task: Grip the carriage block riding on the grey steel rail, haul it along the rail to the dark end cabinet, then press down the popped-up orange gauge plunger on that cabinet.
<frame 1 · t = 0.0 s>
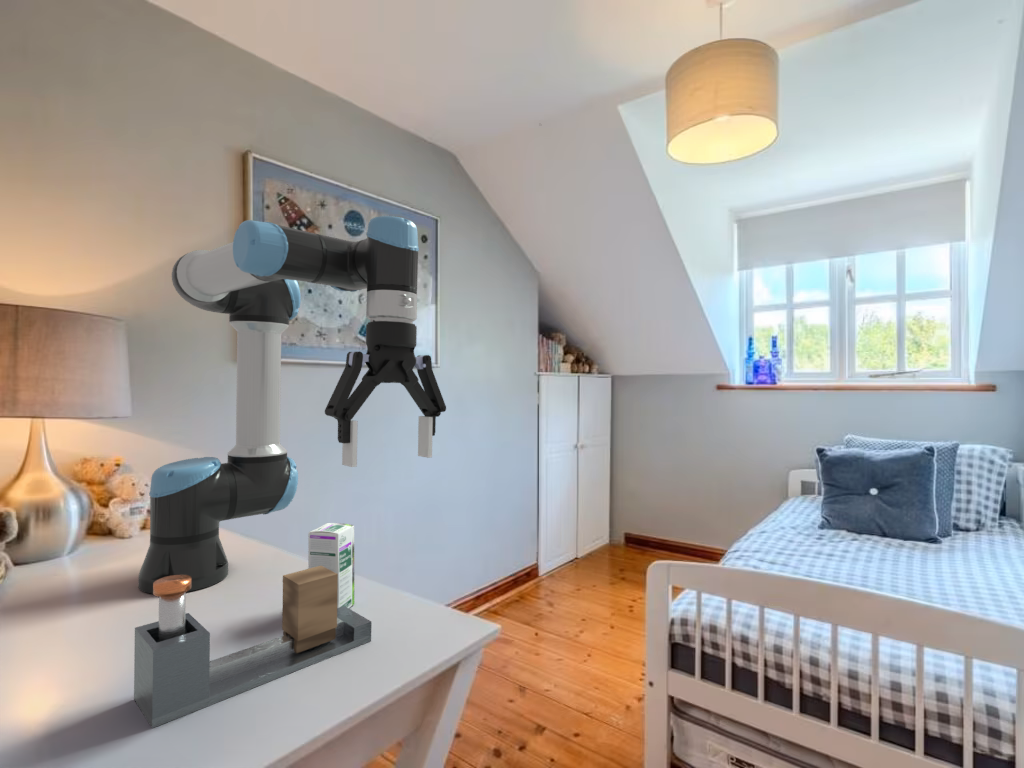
hand: (389, 461, 83), 28 cm above the table, fingers open, 13 cm apart
syrup box: (331, 611, 94), on the table
rail: (275, 662, 77), on the table
plunger: (172, 621, 67), point 10 cm above the table, slide at 0.0 cm
carriage: (310, 607, 80), point 6 cm above the table, slide at 0.0 cm
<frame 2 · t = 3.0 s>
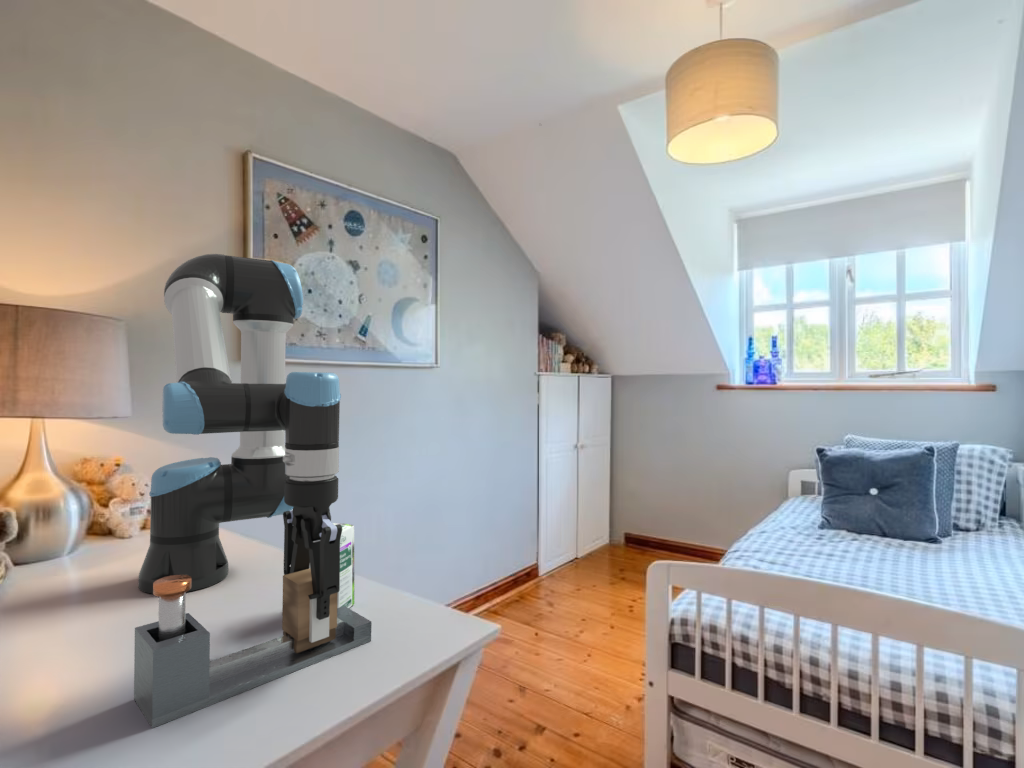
hand: (309, 631, 80), 3 cm above the table, fingers closed on carriage, 5 cm apart
carriage: (310, 607, 80), point 6 cm above the table, slide at 0.0 cm, touching gripper
everything else where it was.
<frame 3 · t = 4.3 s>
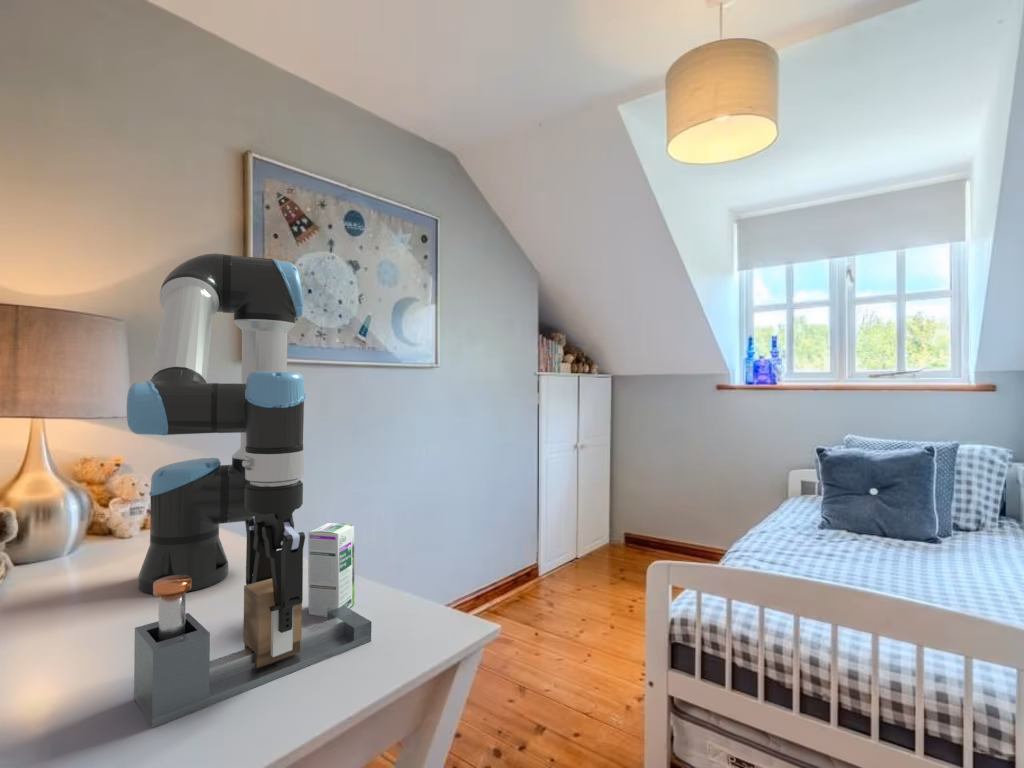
hand: (272, 644, 76), 3 cm above the table, fingers closed on carriage, 5 cm apart
carriage: (272, 619, 76), point 6 cm above the table, slide at 5.5 cm, touching gripper
everything else where it was.
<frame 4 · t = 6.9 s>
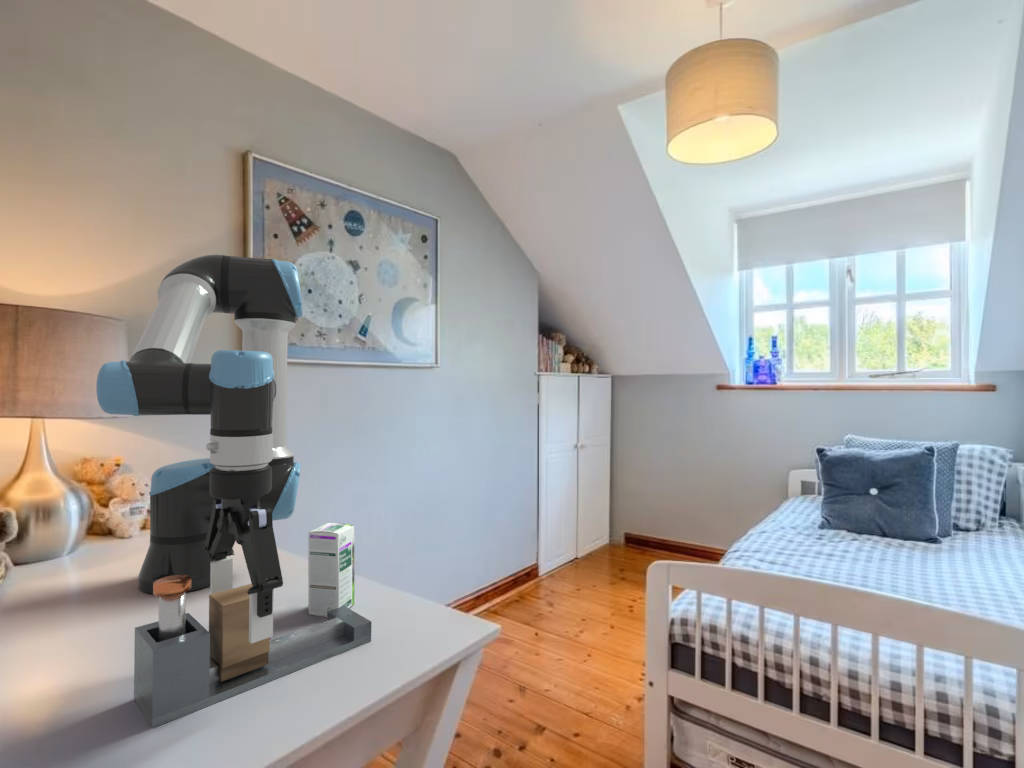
hand: (239, 621, 73), 7 cm above the table, fingers open, 13 cm apart
carriage: (239, 630, 73), point 6 cm above the table, slide at 10.0 cm
everything else where it was.
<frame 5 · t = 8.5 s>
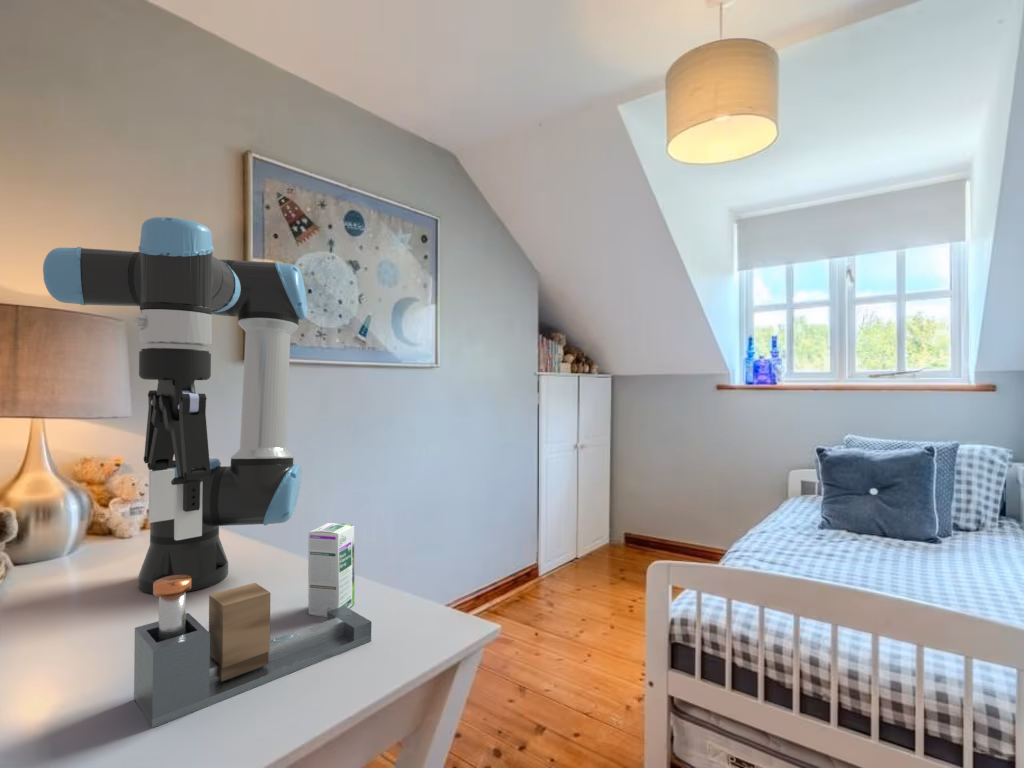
hand: (174, 528, 67), 22 cm above the table, fingers open, 10 cm apart
nothing on the table moved.
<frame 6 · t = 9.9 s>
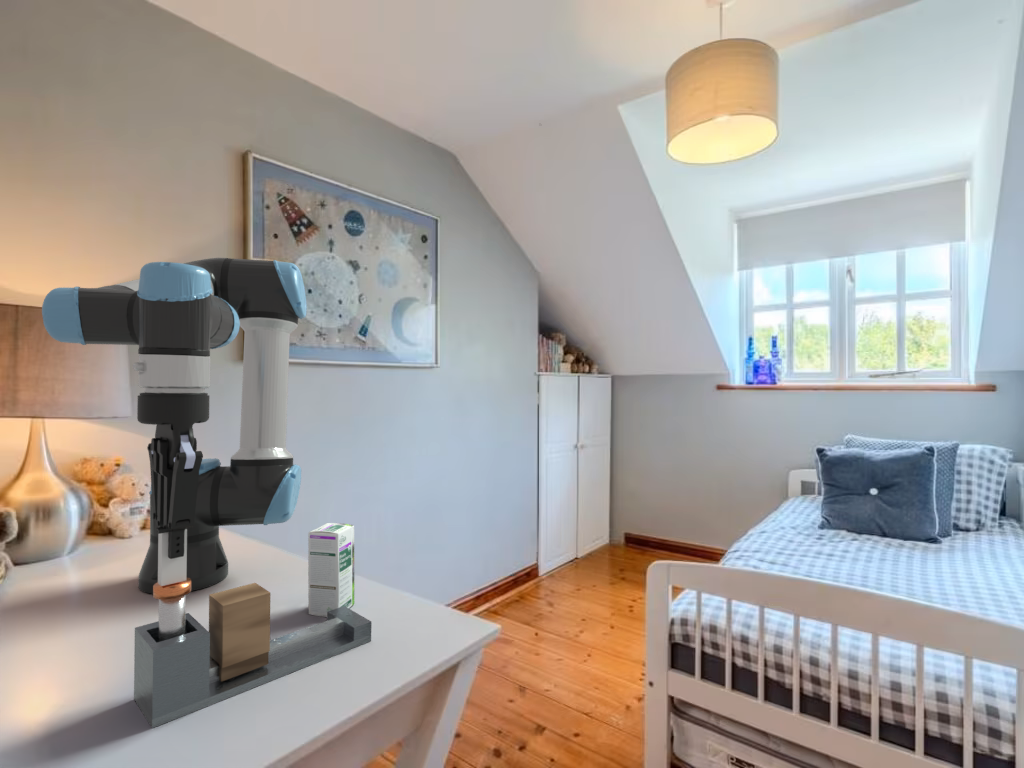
hand: (172, 581, 67), 15 cm above the table, fingers closed
plunger: (172, 624, 67), point 10 cm above the table, slide at 0.3 cm, touching gripper
everything else where it was.
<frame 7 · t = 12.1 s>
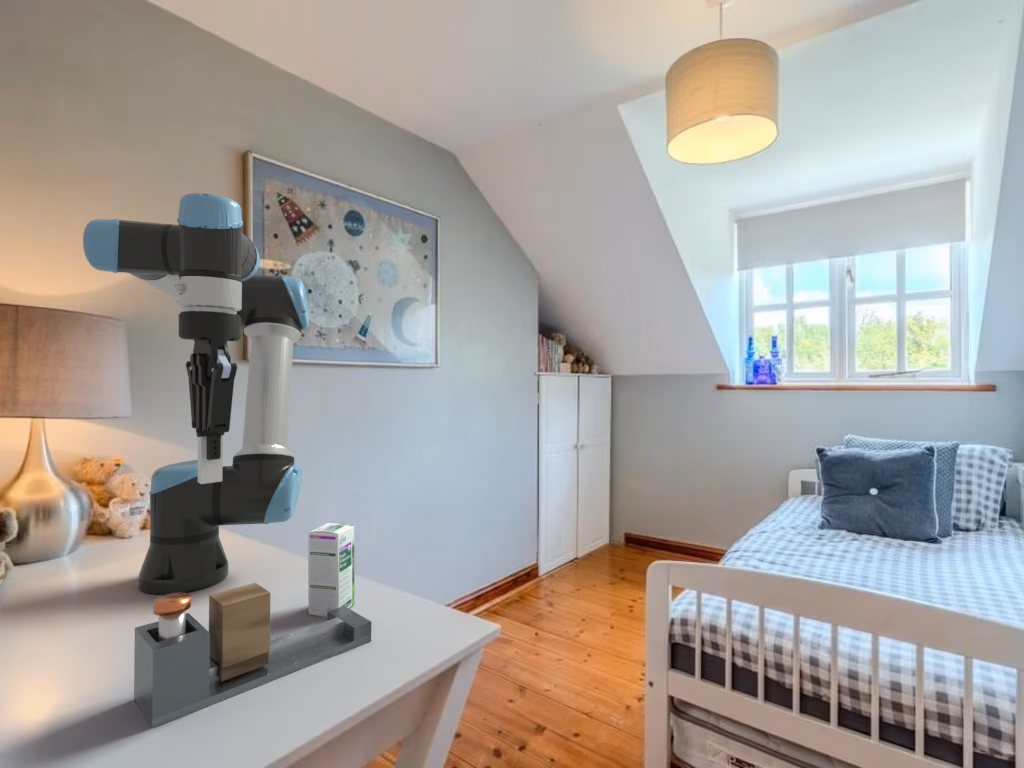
hand: (210, 481, 75), 26 cm above the table, fingers closed
plunger: (171, 639, 67), point 8 cm above the table, slide at 2.3 cm
everything else where it was.
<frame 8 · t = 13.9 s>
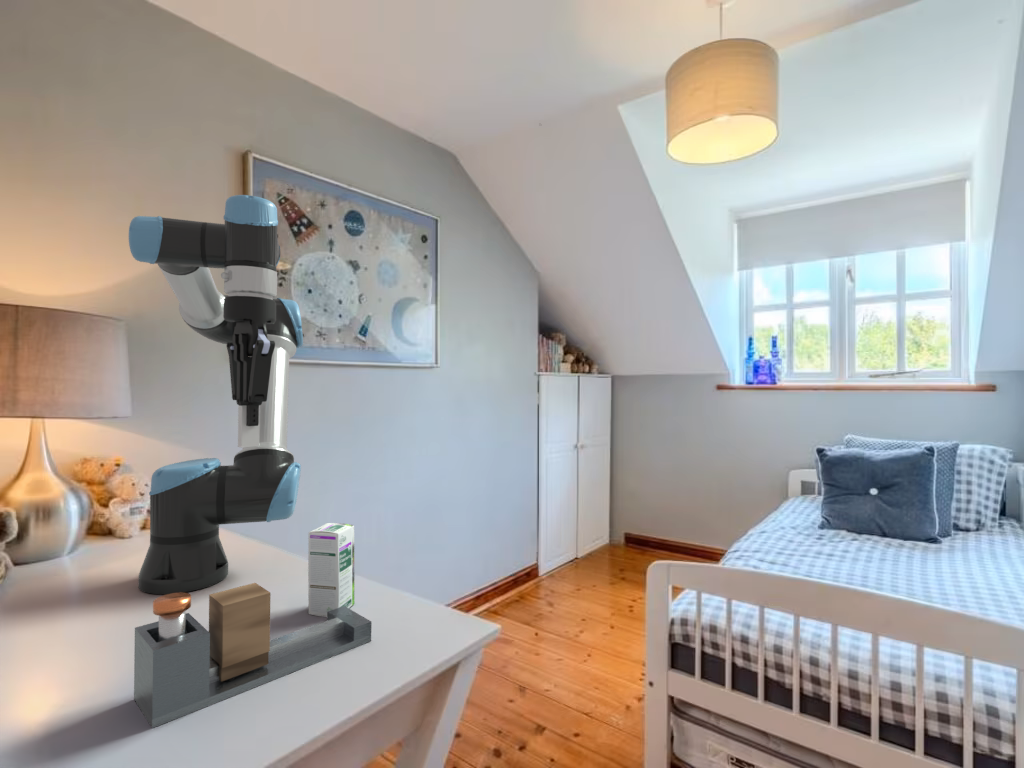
hand: (248, 446, 86), 29 cm above the table, fingers closed
nothing on the table moved.
at the end: carriage slide at 10.0 cm; plunger slide at 2.3 cm; the gripper is holding nothing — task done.
